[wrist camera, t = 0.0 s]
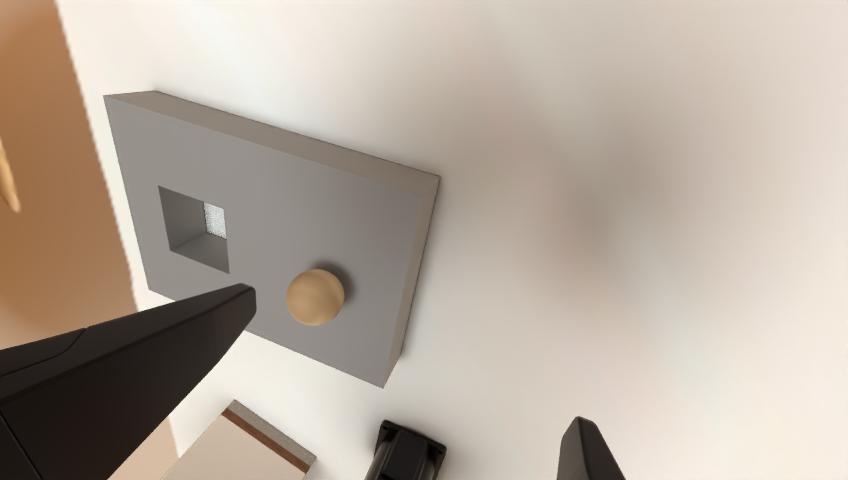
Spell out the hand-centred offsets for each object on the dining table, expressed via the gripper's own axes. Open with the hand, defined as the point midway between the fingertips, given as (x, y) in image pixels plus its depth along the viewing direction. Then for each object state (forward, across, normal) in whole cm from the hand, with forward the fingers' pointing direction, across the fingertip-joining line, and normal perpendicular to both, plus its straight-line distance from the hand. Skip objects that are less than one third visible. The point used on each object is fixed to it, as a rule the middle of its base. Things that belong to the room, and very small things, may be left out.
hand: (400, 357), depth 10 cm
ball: (+9, +8, +8) cm, 15 cm away
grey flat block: (+14, +14, +8) cm, 22 cm away
